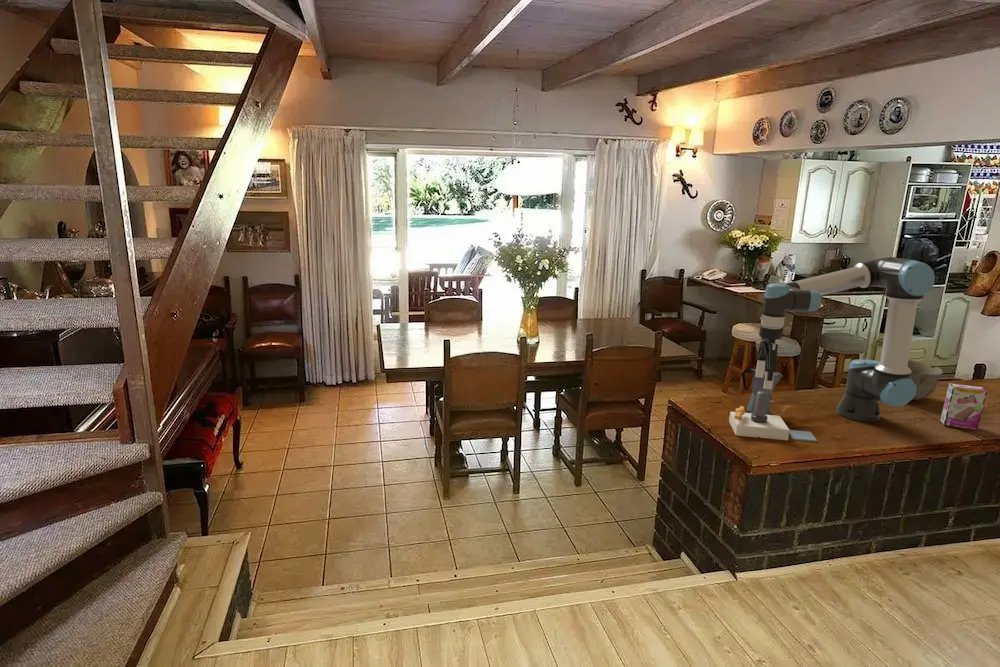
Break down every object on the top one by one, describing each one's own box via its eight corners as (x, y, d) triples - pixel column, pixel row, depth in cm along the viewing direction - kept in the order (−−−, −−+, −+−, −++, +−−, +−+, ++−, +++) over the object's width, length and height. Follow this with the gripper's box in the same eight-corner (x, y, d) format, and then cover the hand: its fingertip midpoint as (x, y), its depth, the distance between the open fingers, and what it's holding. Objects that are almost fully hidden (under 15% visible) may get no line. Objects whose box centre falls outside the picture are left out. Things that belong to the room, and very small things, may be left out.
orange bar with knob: (737, 408, 227) (738, 404, 227) (746, 410, 226) (746, 406, 225) (731, 418, 217) (732, 414, 217) (741, 420, 216) (741, 416, 215)
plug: (763, 428, 225) (768, 390, 221) (767, 434, 219) (772, 395, 216) (748, 426, 226) (753, 389, 222) (751, 432, 220) (756, 394, 217)
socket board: (778, 425, 228) (780, 411, 226) (788, 440, 214) (790, 425, 213) (729, 421, 231) (730, 406, 230) (735, 435, 218) (737, 420, 216)
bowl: (937, 411, 247) (944, 376, 243) (875, 400, 258) (882, 367, 254) (934, 396, 265) (941, 364, 261) (877, 386, 276) (883, 355, 272)
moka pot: (780, 418, 235) (787, 370, 230) (739, 414, 238) (745, 367, 233) (774, 409, 244) (781, 363, 239) (735, 406, 247) (740, 360, 242)
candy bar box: (944, 426, 230) (952, 386, 226) (939, 422, 235) (948, 382, 231) (978, 431, 227) (988, 390, 223) (973, 426, 231) (982, 386, 227)
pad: (810, 433, 221) (810, 431, 221) (816, 442, 213) (817, 440, 213) (787, 431, 222) (787, 429, 222) (793, 439, 215) (793, 438, 215)
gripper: (753, 318, 225) (745, 371, 231) (768, 334, 202) (760, 392, 207) (774, 320, 224) (766, 373, 229) (792, 335, 200) (782, 394, 205)
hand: (763, 382), depth 218 cm, fingers open, 13 cm apart
